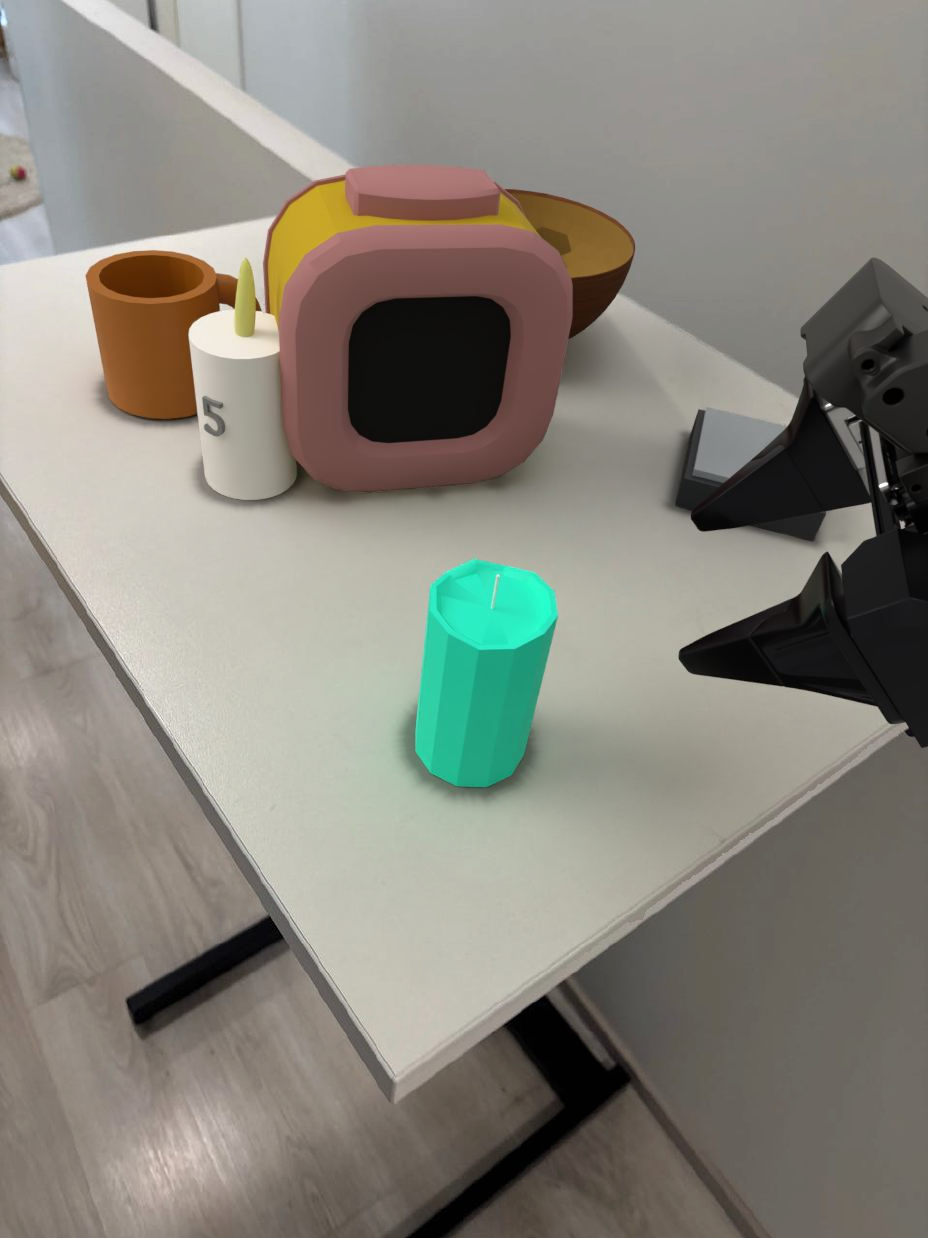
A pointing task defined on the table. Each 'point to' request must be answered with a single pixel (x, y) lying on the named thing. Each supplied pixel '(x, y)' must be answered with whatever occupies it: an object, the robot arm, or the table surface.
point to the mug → (153, 326)
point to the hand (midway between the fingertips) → (689, 586)
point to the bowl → (582, 250)
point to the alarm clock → (414, 327)
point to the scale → (731, 463)
